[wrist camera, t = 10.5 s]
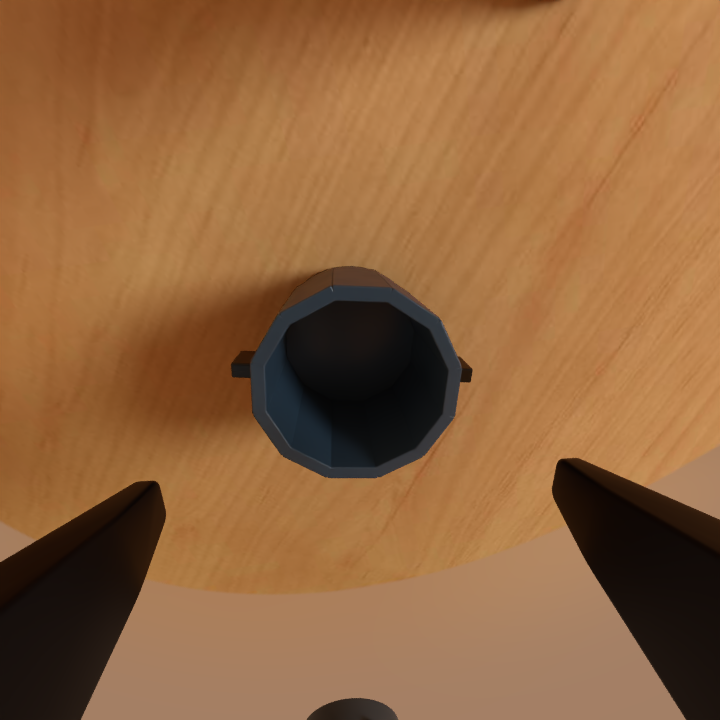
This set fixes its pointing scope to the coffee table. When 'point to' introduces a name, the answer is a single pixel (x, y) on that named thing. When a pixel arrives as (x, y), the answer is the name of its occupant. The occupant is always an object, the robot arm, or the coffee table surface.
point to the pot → (353, 376)
